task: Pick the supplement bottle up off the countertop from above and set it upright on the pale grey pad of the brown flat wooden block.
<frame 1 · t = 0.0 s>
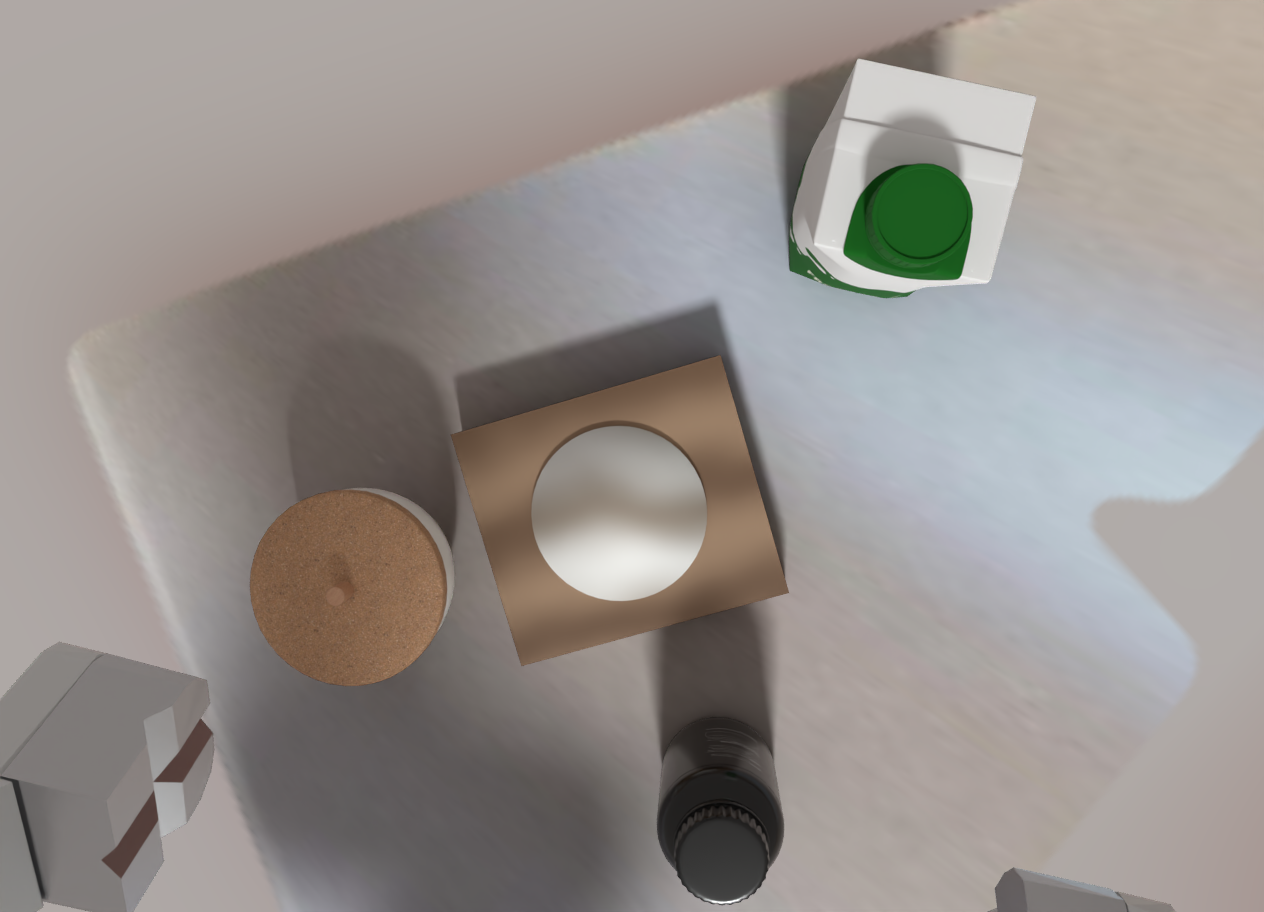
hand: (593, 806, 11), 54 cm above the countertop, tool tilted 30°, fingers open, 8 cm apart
brown flat wooden block: (623, 506, 66), on the countertop
milk carton: (862, 222, 64), on the countertop
lidded jar: (387, 562, 67), on the countertop
supplement bottle: (718, 768, 67), on the countertop
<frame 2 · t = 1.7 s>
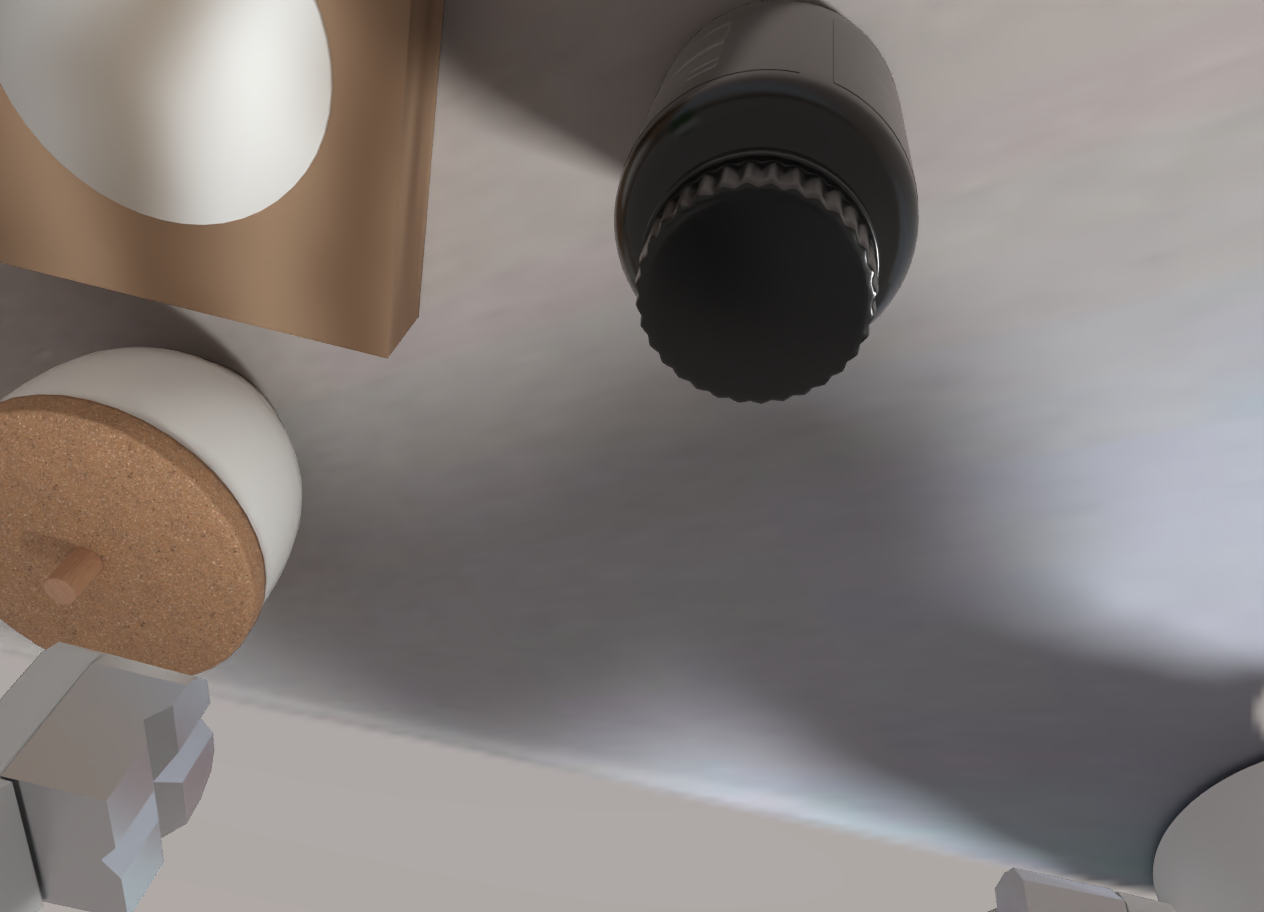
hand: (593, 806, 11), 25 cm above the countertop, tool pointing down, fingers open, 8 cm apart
brown flat wooden block: (209, 22, 32), on the countertop
lidded jar: (211, 426, 41), on the countertop
supplement bottle: (779, 119, 32), on the countertop
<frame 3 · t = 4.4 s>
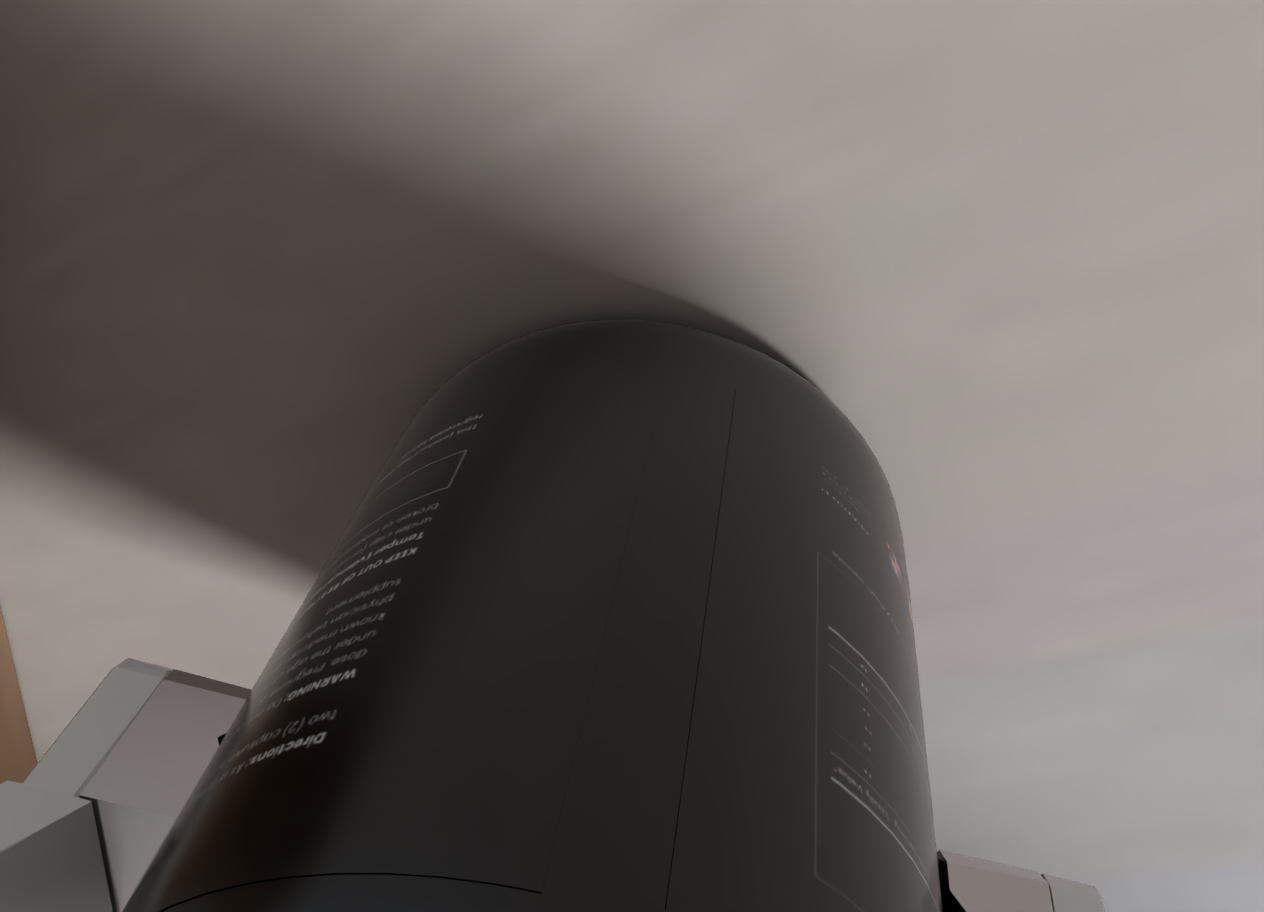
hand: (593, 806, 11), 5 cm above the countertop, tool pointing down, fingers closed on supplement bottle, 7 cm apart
supplement bottle: (651, 520, 15), on the countertop, touching gripper
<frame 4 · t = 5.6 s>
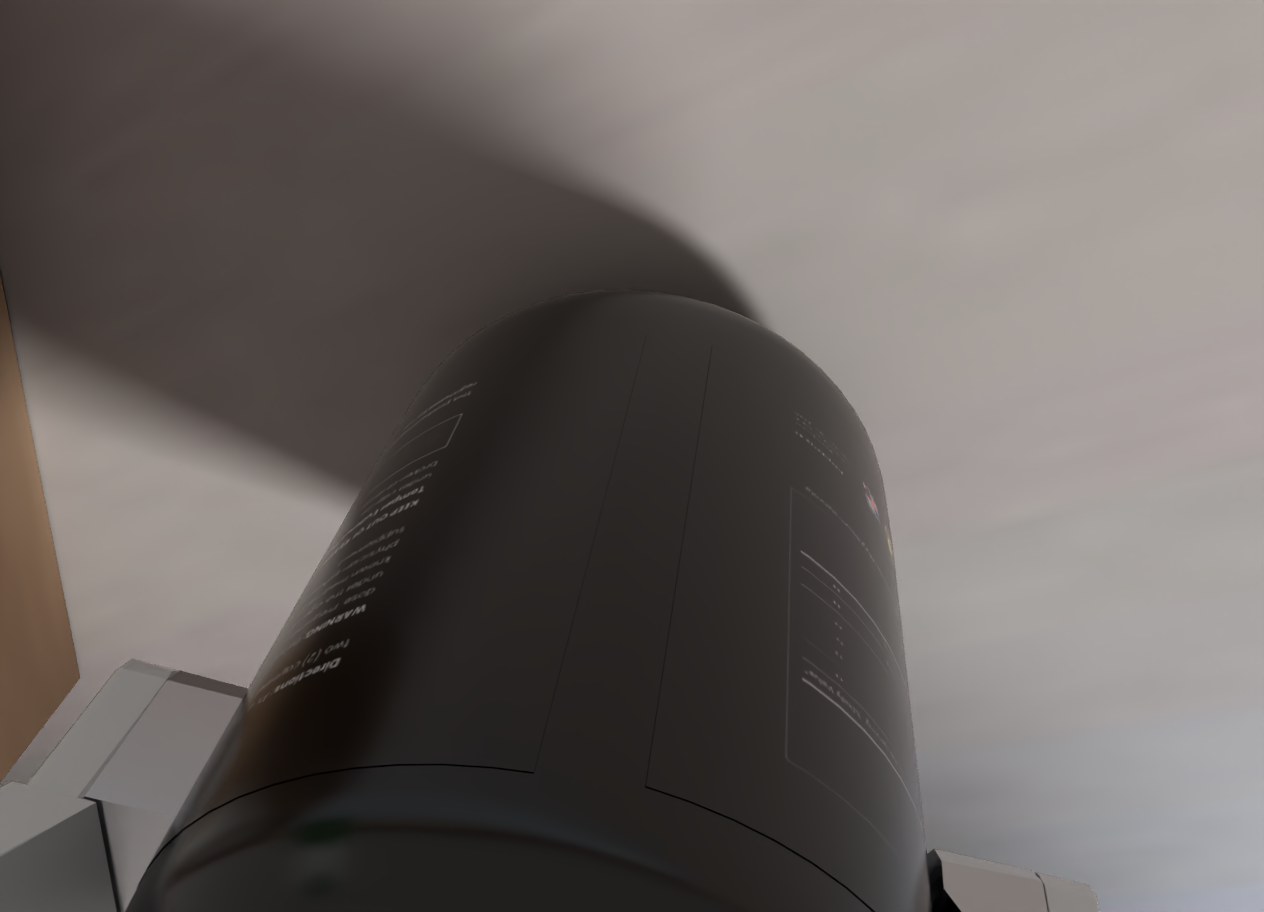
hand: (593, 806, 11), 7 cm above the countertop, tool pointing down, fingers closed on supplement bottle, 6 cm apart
supplement bottle: (647, 484, 16), point 1 cm above the countertop, touching gripper
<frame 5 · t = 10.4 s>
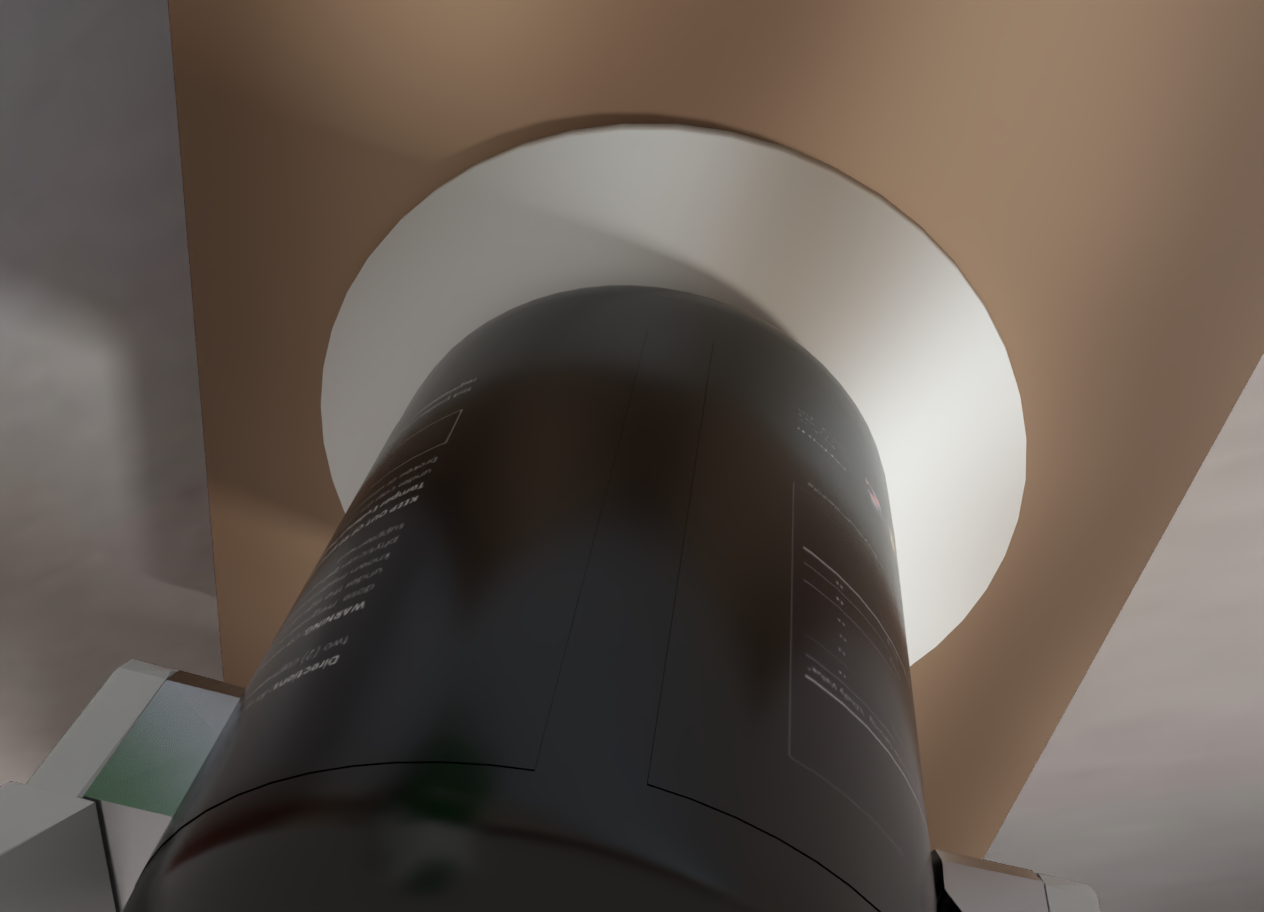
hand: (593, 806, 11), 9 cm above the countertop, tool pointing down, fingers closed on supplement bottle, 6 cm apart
brown flat wooden block: (684, 368, 18), on the countertop
supplement bottle: (648, 481, 16), point 3 cm above the countertop, touching gripper
when the fingers open (9 cm above the countertop, at t = 11.0 s): supplement bottle stays where it is, resting on brown flat wooden block.
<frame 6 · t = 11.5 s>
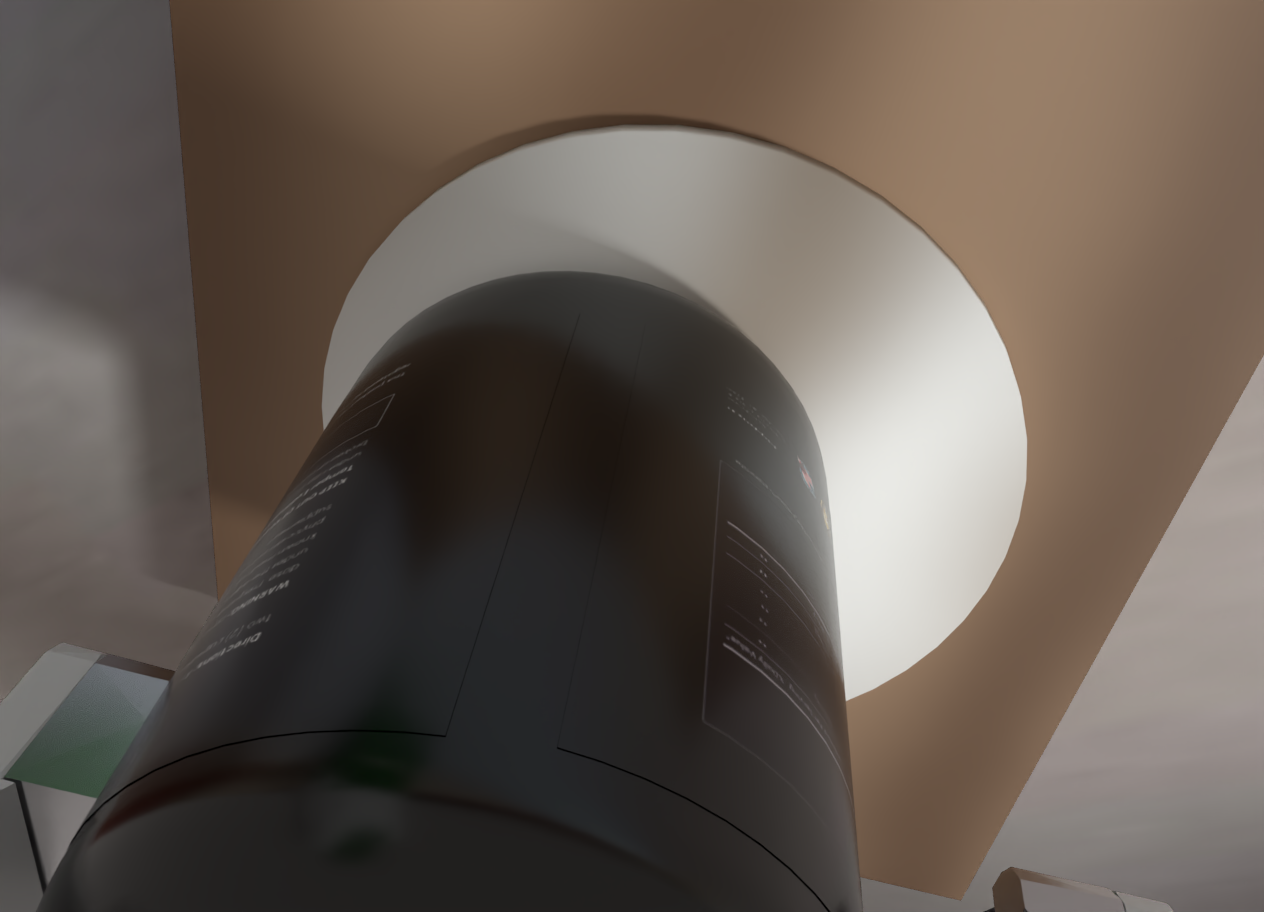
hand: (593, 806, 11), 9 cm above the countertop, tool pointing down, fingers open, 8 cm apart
brown flat wooden block: (685, 369, 18), on the countertop
supplement bottle: (592, 467, 16), point 3 cm above the countertop, touching gripper, brown flat wooden block
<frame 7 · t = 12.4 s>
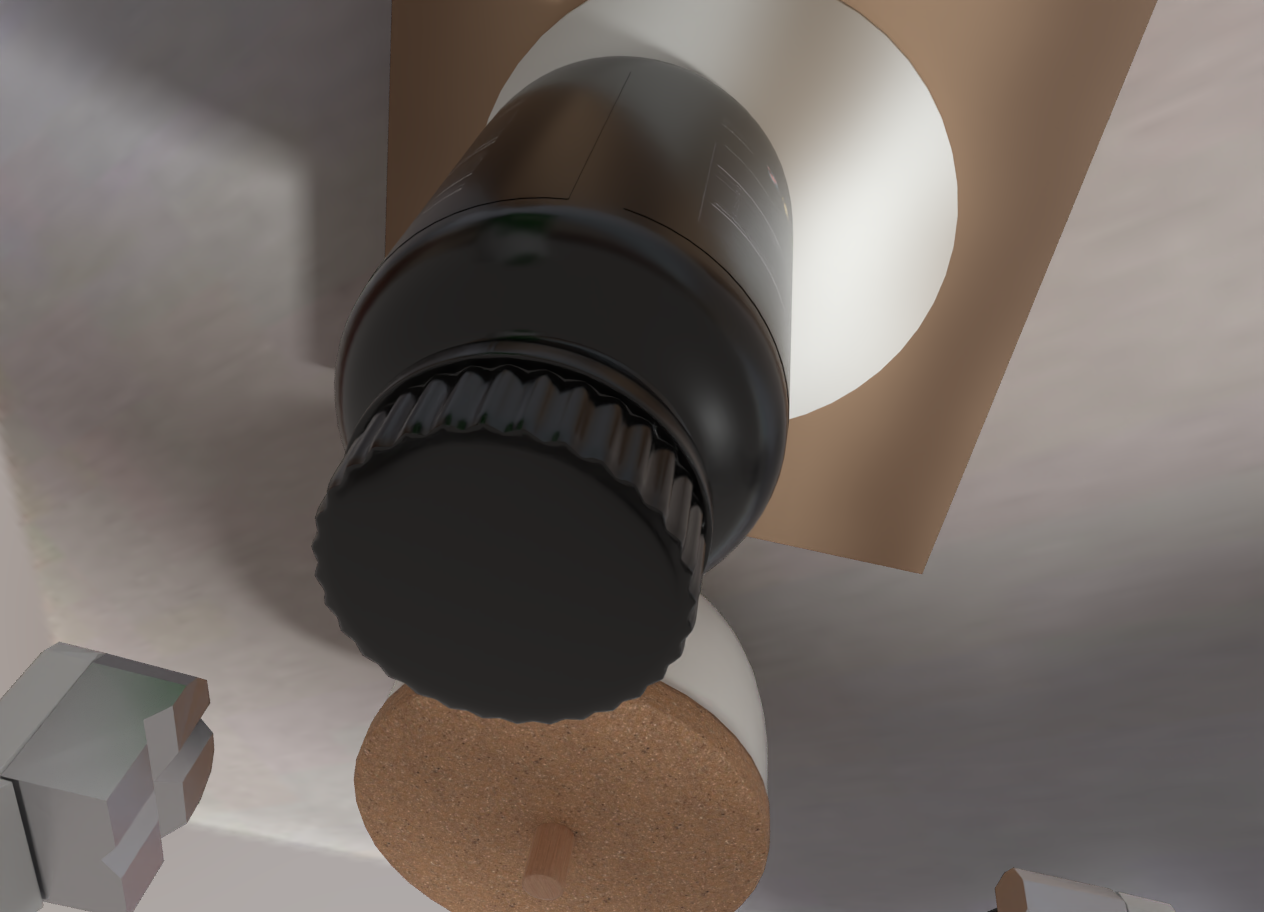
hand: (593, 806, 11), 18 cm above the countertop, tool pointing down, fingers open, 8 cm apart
brown flat wooden block: (721, 171, 26), on the countertop
lidded jar: (607, 618, 34), on the countertop
supplement bottle: (635, 211, 23), point 3 cm above the countertop, touching brown flat wooden block
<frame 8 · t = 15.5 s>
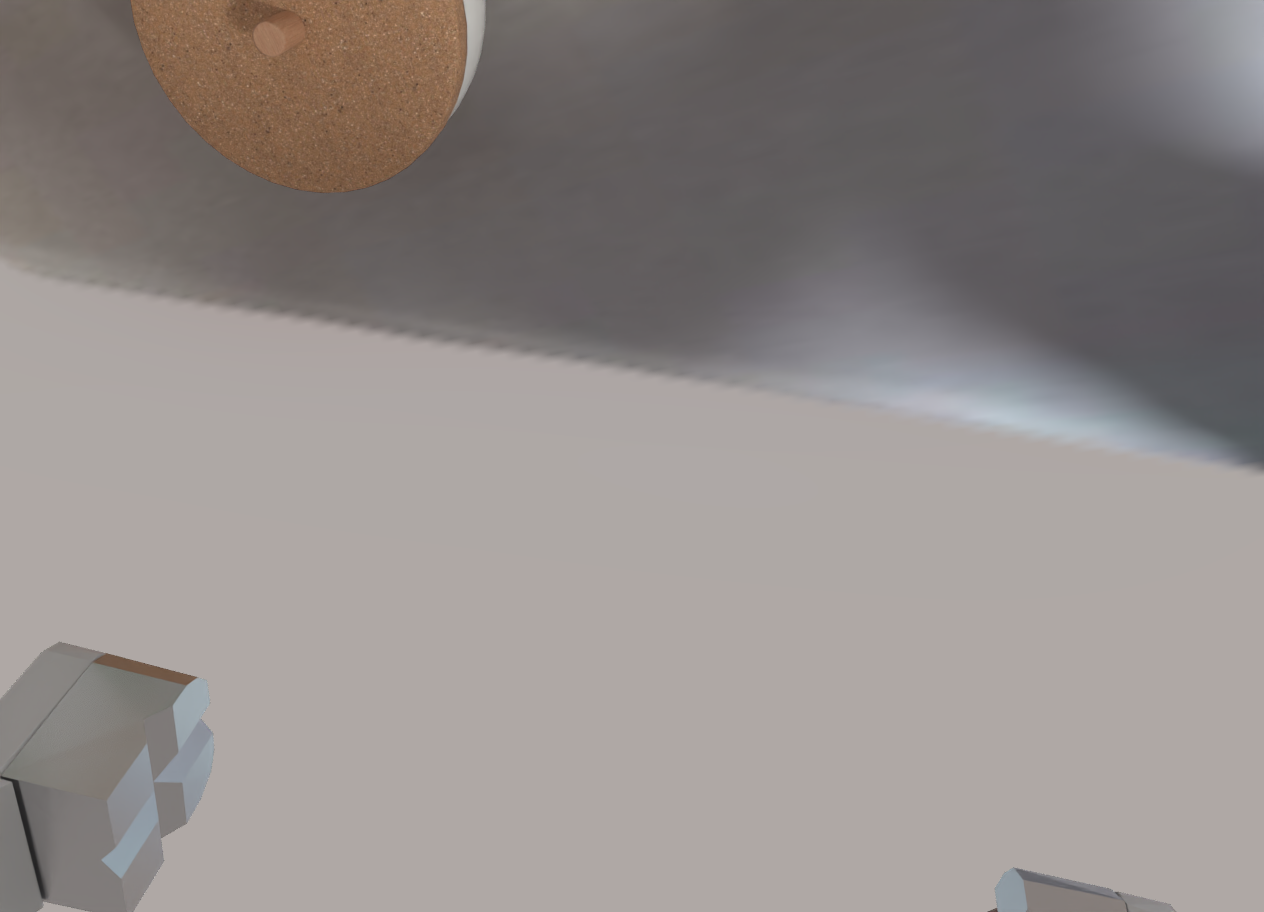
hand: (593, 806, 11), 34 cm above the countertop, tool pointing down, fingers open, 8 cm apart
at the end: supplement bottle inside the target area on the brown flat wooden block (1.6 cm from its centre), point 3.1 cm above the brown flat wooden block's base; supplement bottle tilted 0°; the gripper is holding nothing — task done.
